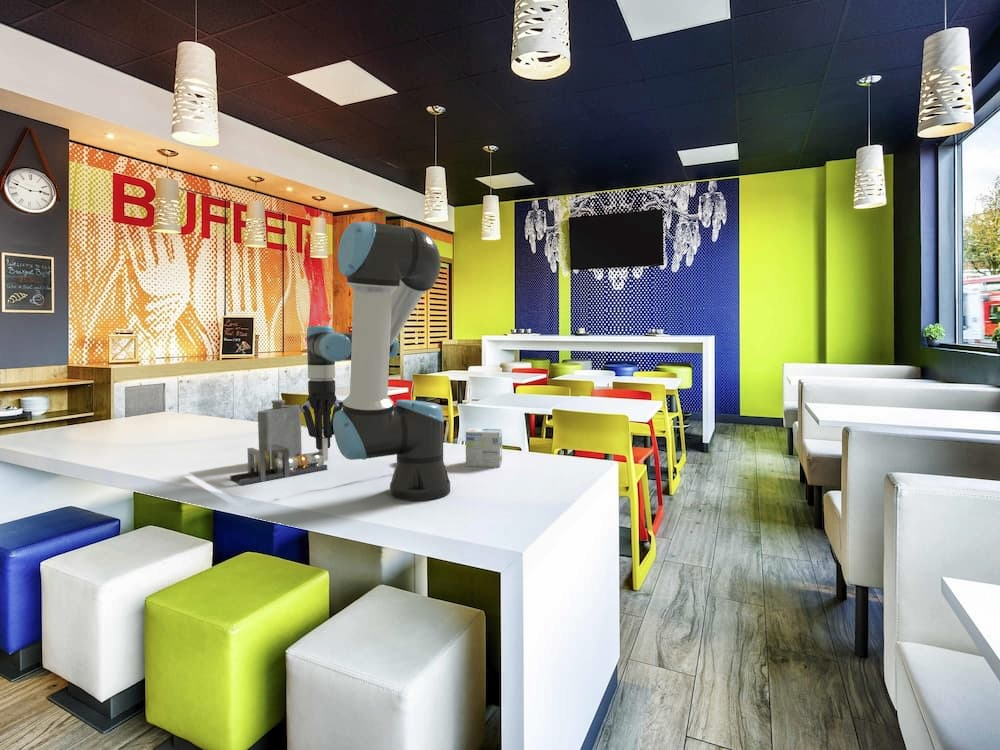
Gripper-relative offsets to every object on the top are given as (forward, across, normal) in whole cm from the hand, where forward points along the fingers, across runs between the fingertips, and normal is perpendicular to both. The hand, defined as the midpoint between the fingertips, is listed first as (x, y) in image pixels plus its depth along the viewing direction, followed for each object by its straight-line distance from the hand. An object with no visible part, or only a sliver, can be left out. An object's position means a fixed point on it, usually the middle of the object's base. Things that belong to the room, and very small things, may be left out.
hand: (323, 459), depth 164 cm
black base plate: (+3, +13, 0) cm, 13 cm away
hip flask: (+3, +7, -13) cm, 15 cm away
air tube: (+2, +7, 0) cm, 7 cm away
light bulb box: (+3, -38, +28) cm, 47 cm away
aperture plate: (+3, +16, -4) cm, 17 cm away
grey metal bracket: (+2, +16, 0) cm, 16 cm away
